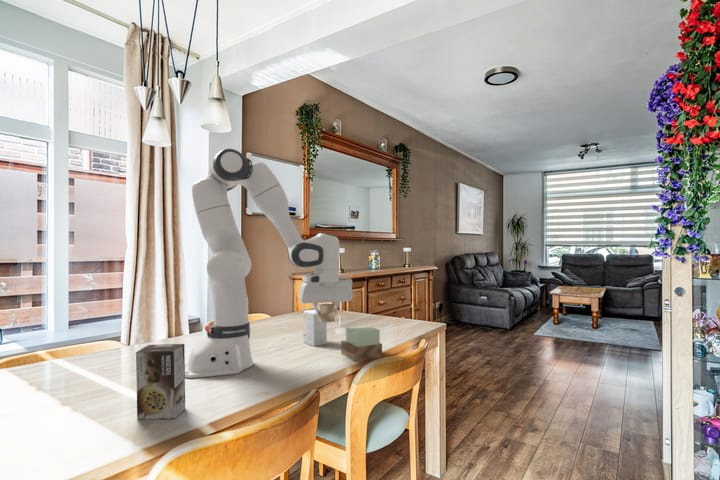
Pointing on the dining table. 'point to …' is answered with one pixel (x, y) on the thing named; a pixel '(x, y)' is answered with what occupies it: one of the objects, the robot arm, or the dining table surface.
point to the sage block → (362, 336)
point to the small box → (313, 329)
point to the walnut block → (361, 351)
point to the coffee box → (160, 381)
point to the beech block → (326, 312)
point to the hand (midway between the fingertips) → (326, 314)
